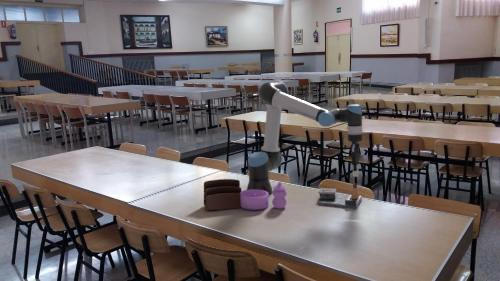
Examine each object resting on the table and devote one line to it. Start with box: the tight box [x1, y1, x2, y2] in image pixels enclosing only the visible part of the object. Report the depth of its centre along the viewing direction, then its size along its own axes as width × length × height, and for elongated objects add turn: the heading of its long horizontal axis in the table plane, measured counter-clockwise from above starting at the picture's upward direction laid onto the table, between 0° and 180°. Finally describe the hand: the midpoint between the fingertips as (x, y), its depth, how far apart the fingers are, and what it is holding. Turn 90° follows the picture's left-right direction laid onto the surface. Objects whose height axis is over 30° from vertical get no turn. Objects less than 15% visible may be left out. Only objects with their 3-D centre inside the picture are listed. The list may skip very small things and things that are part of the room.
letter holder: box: [203, 178, 243, 212], centre depth 217 cm, size 10×20×14 cm, turn 103°
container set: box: [240, 181, 288, 211], centre depth 216 cm, size 25×15×13 cm, turn 76°
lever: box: [350, 183, 360, 199], centre depth 218 cm, size 3×3×8 cm
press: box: [317, 194, 363, 210], centre depth 218 cm, size 20×15×4 cm
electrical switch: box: [317, 188, 337, 199], centre depth 224 cm, size 9×5×9 cm
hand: (355, 176), depth 222 cm, fingers closed
